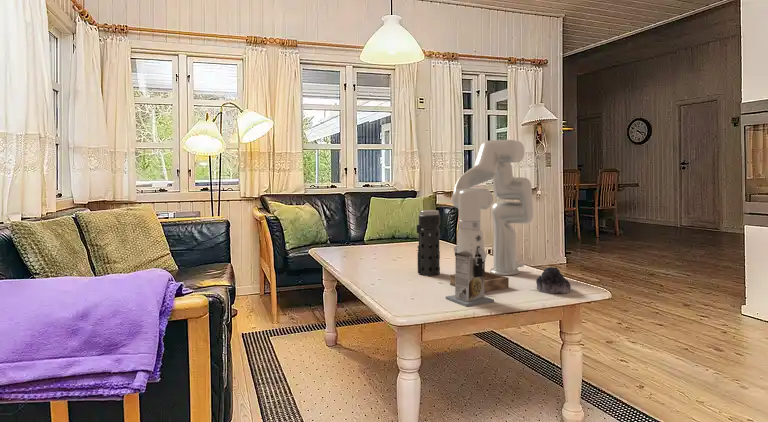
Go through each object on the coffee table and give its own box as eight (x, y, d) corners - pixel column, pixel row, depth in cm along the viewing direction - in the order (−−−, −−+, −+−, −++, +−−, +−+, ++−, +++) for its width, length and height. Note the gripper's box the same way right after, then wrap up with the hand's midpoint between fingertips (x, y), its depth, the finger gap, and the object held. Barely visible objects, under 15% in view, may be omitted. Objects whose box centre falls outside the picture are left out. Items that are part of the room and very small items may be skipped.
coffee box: (470, 293, 183) (471, 249, 181) (485, 297, 178) (485, 252, 177) (454, 298, 177) (454, 252, 175) (468, 301, 172) (469, 255, 171)
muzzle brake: (417, 276, 218) (441, 276, 218) (417, 211, 216) (441, 211, 216) (416, 271, 228) (439, 271, 228) (415, 209, 225) (439, 209, 225)
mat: (472, 294, 186) (472, 292, 186) (494, 301, 175) (494, 299, 175) (445, 298, 180) (445, 296, 180) (465, 306, 169) (465, 304, 169)
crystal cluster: (555, 286, 199) (552, 261, 199) (581, 291, 187) (578, 264, 186) (528, 293, 194) (525, 267, 194) (552, 298, 182) (549, 270, 181)
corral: (482, 280, 209) (482, 270, 209) (508, 288, 195) (508, 277, 194) (450, 284, 202) (450, 274, 201) (475, 293, 187) (475, 282, 187)
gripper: (494, 227, 169) (494, 277, 171) (463, 222, 185) (463, 268, 186) (476, 228, 166) (476, 280, 167) (446, 224, 181) (446, 271, 183)
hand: (469, 274), depth 177 cm, fingers open, 9 cm apart
